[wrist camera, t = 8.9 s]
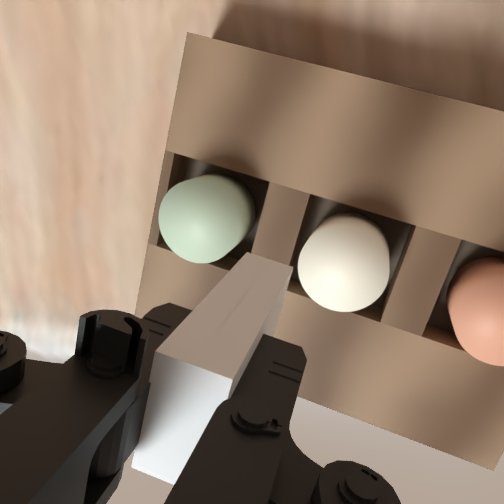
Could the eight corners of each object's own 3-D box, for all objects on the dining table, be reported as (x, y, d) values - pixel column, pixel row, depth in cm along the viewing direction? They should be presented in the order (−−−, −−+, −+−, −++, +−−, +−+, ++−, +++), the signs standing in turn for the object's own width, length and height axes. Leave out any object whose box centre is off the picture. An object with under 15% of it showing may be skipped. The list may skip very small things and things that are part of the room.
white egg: (298, 275, 25) (287, 295, 22) (321, 202, 24) (311, 213, 21) (374, 300, 24) (372, 324, 22) (401, 226, 23) (402, 241, 20)
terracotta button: (433, 320, 24) (439, 347, 21) (464, 246, 23) (475, 264, 20) (516, 348, 23) (534, 379, 20) (553, 273, 22) (577, 295, 19)
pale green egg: (176, 234, 26) (151, 248, 24) (191, 163, 25) (166, 169, 22) (245, 257, 26) (227, 274, 23) (263, 185, 24) (247, 194, 22)
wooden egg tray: (154, 313, 30) (131, 332, 27) (209, 41, 25) (187, 32, 22) (482, 433, 27) (493, 470, 24) (625, 146, 21) (660, 150, 19)
